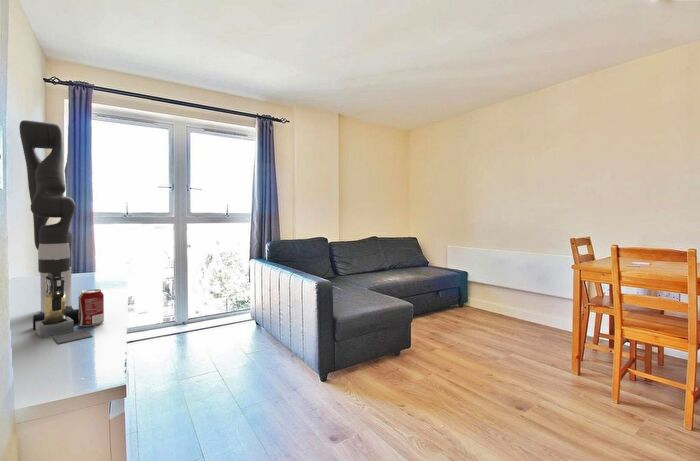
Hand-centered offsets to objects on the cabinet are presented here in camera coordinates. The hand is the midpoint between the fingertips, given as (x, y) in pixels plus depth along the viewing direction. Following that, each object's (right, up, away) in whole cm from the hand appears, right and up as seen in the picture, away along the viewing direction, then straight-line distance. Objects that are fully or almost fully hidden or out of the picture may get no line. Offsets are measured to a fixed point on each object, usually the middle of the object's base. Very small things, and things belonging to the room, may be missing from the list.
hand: (54, 308), depth 103 cm
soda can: (+6, -8, +7) cm, 12 cm away
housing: (0, -8, 0) cm, 8 cm away
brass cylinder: (0, -4, 0) cm, 4 cm away
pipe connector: (-6, -8, +10) cm, 14 cm away
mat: (+10, -8, -5) cm, 14 cm away
